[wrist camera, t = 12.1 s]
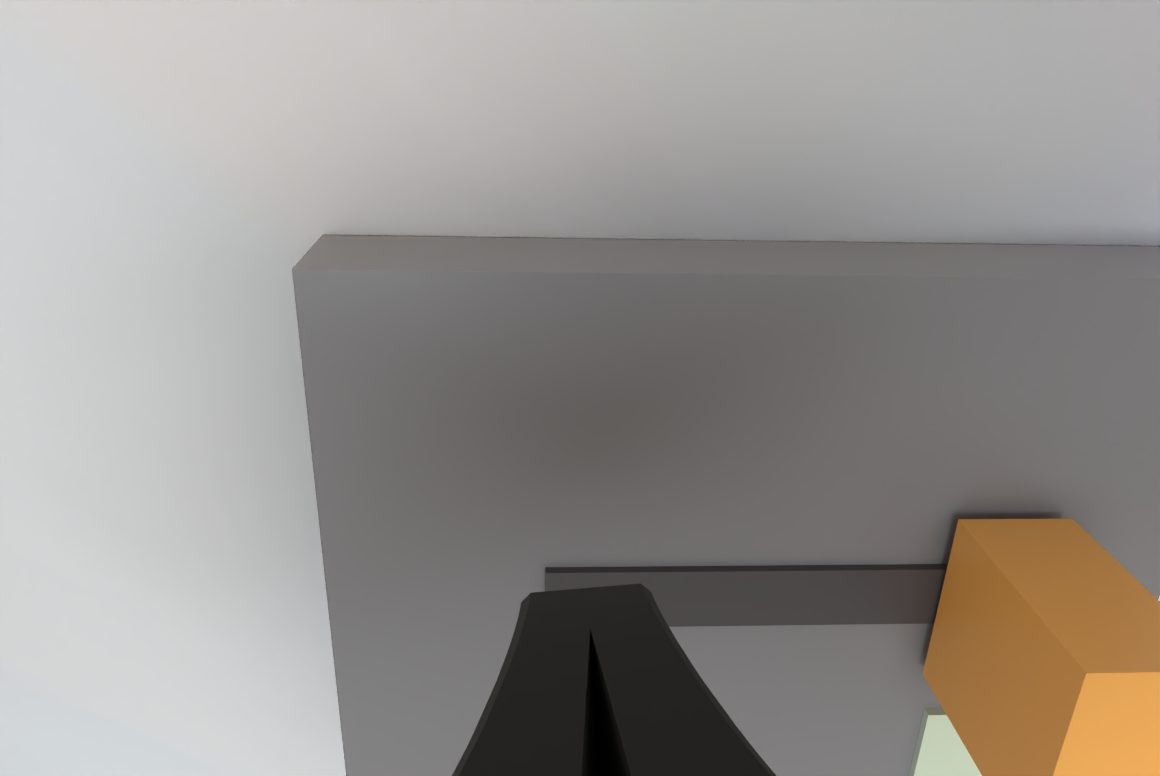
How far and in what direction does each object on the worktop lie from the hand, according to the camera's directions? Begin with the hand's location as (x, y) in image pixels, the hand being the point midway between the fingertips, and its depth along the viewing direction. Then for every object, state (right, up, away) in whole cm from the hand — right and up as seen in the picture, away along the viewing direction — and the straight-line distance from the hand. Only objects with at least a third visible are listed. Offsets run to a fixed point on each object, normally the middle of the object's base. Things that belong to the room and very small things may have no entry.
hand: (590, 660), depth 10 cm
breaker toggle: (+9, -1, +9) cm, 13 cm away
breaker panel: (+3, 0, +11) cm, 12 cm away
